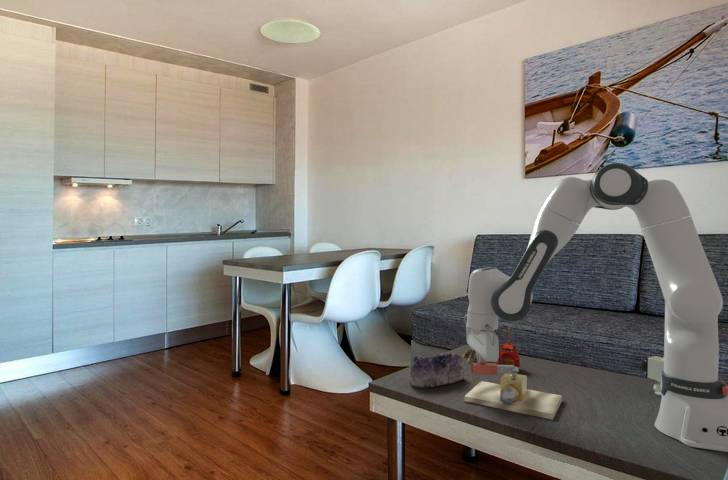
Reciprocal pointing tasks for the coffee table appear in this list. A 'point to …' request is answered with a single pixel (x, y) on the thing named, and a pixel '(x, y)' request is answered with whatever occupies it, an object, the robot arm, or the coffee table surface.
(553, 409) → the base board
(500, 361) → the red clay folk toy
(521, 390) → the valve body
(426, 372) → the geode
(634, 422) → the coffee table surface
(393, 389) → the coffee table surface
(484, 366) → the valve lever
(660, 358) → the pneumatic valve
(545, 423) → the coffee table surface
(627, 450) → the coffee table surface
